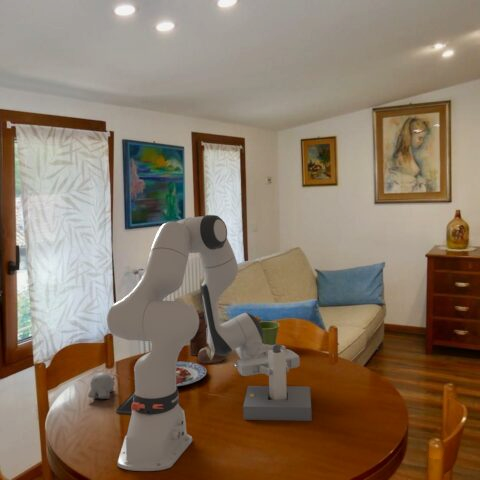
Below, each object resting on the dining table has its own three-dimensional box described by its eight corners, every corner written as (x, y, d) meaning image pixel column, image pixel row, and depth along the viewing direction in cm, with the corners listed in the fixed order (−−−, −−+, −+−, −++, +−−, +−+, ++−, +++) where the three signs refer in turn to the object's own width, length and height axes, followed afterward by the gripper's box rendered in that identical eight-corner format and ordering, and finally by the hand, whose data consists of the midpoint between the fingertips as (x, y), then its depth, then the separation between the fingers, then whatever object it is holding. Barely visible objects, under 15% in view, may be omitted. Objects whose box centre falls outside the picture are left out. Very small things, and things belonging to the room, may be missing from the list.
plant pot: (249, 354, 210) (248, 327, 209) (256, 345, 221) (255, 320, 220) (276, 355, 207) (276, 329, 206) (283, 347, 218) (282, 321, 217)
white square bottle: (286, 399, 155) (285, 346, 153) (274, 402, 153) (273, 347, 152) (281, 395, 158) (279, 342, 157) (269, 397, 157) (267, 344, 155)
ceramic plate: (122, 380, 185) (121, 372, 185) (177, 362, 203) (177, 355, 203) (164, 398, 167) (164, 390, 167) (221, 377, 185) (220, 369, 185)
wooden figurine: (194, 347, 222) (193, 307, 220) (209, 347, 221) (207, 307, 219) (187, 356, 210) (185, 313, 208) (202, 356, 209) (200, 314, 207)
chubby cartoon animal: (120, 399, 174) (124, 374, 176) (103, 399, 163) (107, 372, 165) (102, 397, 176) (105, 372, 178) (83, 397, 164) (88, 371, 167)
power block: (311, 420, 147) (311, 406, 146) (243, 419, 149) (243, 405, 149) (310, 398, 163) (309, 386, 162) (248, 397, 165) (248, 385, 165)
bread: (196, 364, 200) (195, 352, 199) (200, 355, 211) (199, 344, 211) (224, 364, 199) (223, 352, 199) (226, 355, 210) (226, 343, 210)
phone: (115, 411, 156) (133, 392, 171) (115, 414, 156) (133, 395, 171) (139, 412, 155) (155, 392, 170) (139, 415, 155) (155, 396, 170)
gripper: (231, 353, 163) (246, 366, 150) (287, 344, 170) (307, 356, 157) (231, 372, 164) (247, 386, 151) (288, 362, 171) (307, 376, 158)
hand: (278, 371), depth 154 cm, fingers closed on white square bottle, 4 cm apart
